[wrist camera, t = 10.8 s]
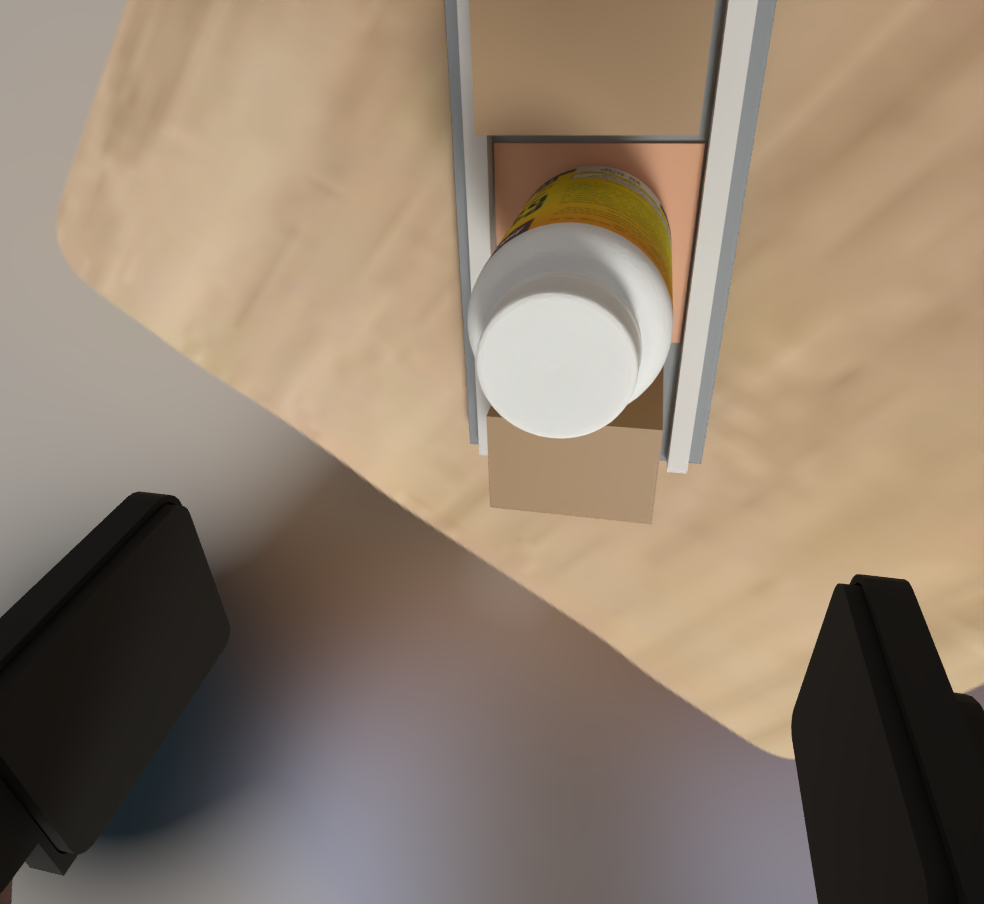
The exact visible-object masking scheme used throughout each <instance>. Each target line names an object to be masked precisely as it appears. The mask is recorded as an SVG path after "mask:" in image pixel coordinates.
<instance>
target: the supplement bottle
mask: <svg viewBox="0 0 984 904" xmlns="http://www.w3.org/2000/svg"><path fill="white" fill-rule="evenodd" d="M467 327H468V335H469V340H470V344H471V348H472V351H473V354H474V356H475V359H476V369H477V375H478V379H479V383H480V386H481V388H482V391H483V393H484V394H485V396H486V398H487V399H488V401H489V402H490V404H491V405H492V407H493V408H494V409H495V410H496V411H497V412H498V413H499V414H500V415H501V416H502V417H503V418H504V419H506V420H507V421H508V422H510V423H511V424H513V425H514V426H516V427H518V428H520V429H522V430H524V431H526V432H529V433H531V434H535V435H538V436H542V437H548V438H561V439H563V438H573V437H579V436H583V435H587V434H590V433H592V432H595V431H597V430H599V429H601V428H602V427H604V426H606V425H607V424H609V423H610V422H612V421H613V420H614V419H615V418H616V417H617V416H618V415H619V414H620V413H621V412H622V411H623V410H624V408H625V407H626V405H627V404H629V403H631V402H632V401H633V400H635V399H636V398H637V397H639V396H640V395H641V394H642V393H643V392H644V391H645V390H646V389H647V388H648V387H649V386H650V385H651V384H652V382H653V381H654V380H655V378H656V377H657V375H658V374H659V372H660V371H661V369H662V367H663V365H664V363H665V360H666V358H667V355H668V352H669V349H670V345H671V340H672V334H673V287H672V239H671V230H670V226H669V222H668V218H667V215H666V213H665V210H664V208H663V206H662V204H661V203H660V201H659V200H658V198H657V197H656V195H655V194H654V193H653V192H652V191H651V190H650V189H649V188H648V187H647V186H646V185H645V184H644V183H643V182H642V181H640V180H639V179H637V178H636V177H634V176H632V175H630V174H629V173H627V172H624V171H622V170H619V169H615V168H611V167H607V166H583V167H577V168H573V169H570V170H567V171H564V172H562V173H560V174H558V175H556V176H554V177H553V178H551V179H549V180H548V181H547V182H545V183H544V184H543V185H542V186H540V187H539V188H538V189H537V190H536V191H535V192H534V194H533V195H532V196H531V197H530V199H529V200H528V201H527V202H526V204H525V205H524V207H523V208H522V210H521V211H520V213H519V214H518V216H517V217H516V219H515V220H514V222H513V223H512V225H511V226H510V228H509V230H508V231H507V232H506V234H505V236H504V237H503V239H502V240H501V242H500V243H499V245H498V246H497V248H496V249H495V251H494V252H493V254H492V255H491V257H490V258H489V260H488V261H487V263H486V264H485V266H484V267H483V269H482V271H481V273H480V274H479V276H478V278H477V280H476V283H475V285H474V287H473V290H472V294H471V297H470V301H469V306H468V316H467Z"/></svg>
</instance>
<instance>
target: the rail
mask: <svg viewBox="0 0 984 904" xmlns="http://www.w3.org/2000/svg"><path fill="white" fill-rule="evenodd" d="M776 1H777V0H445V18H446V35H447V52H448V69H449V86H450V104H451V121H452V138H453V155H454V173H455V190H456V207H457V224H458V241H459V259H460V276H461V293H462V310H463V328H464V345H465V362H466V379H467V397H468V414H469V431H470V444H479V455H488V468H489V492H490V507H493V508H502V509H512V510H521V511H531V512H540V513H550V514H559V515H569V516H578V517H588V518H597V519H607V520H616V521H626V522H635V523H645V524H652V516H653V508H654V499H655V491H656V483H657V475H658V467H659V460H661V461H667V472H676V473H687V469H688V463H695V464H701V462H702V456H703V449H704V443H705V437H706V431H707V425H708V419H709V413H710V406H711V400H712V394H713V388H714V382H715V376H716V370H717V363H718V357H719V351H720V345H721V339H722V333H723V327H724V320H725V314H726V308H727V302H728V296H729V290H730V284H731V278H732V271H733V265H734V259H735V253H736V247H737V241H738V235H739V228H740V222H741V216H742V210H743V204H744V198H745V192H746V185H747V179H748V173H749V167H750V161H751V155H752V149H753V142H754V136H755V130H756V124H757V118H758V112H759V106H760V99H761V93H762V87H763V81H764V75H765V69H766V63H767V56H768V50H769V44H770V38H771V32H772V26H773V20H774V14H775V7H776ZM583 166H607V167H611V168H615V169H619V170H622V171H624V172H627V173H629V174H630V175H632V176H634V177H636V178H637V179H639V180H640V181H642V182H643V183H644V184H645V185H646V186H647V187H648V188H649V189H650V190H651V191H652V192H653V193H654V194H655V195H656V197H657V198H658V200H659V201H660V203H661V204H662V206H663V208H664V210H665V213H666V215H667V218H668V222H669V226H670V230H671V239H672V287H673V334H672V340H671V345H670V349H669V352H668V355H667V358H666V360H665V363H664V365H663V367H662V369H661V371H660V372H659V374H658V375H657V377H656V378H655V380H654V381H653V382H652V384H651V385H650V386H649V387H648V388H647V389H646V390H645V391H644V392H643V393H642V394H641V395H640V396H639V397H637V398H636V399H635V400H633V401H632V402H631V403H629V404H627V405H626V407H625V408H624V410H623V411H622V412H621V413H620V414H619V415H618V416H617V417H616V418H615V419H614V420H613V421H612V422H610V423H609V424H607V425H606V426H604V427H602V428H601V429H599V430H597V431H595V432H592V433H590V434H587V435H583V436H579V437H573V438H563V439H561V438H548V437H542V436H538V435H535V434H531V433H529V432H526V431H524V430H522V429H520V428H518V427H516V426H514V425H513V424H511V423H510V422H508V421H507V420H506V419H504V418H503V417H502V416H501V415H500V414H499V413H498V412H497V411H496V410H495V409H494V408H493V407H492V405H491V404H490V402H489V401H488V399H487V398H486V396H485V394H484V393H483V391H482V388H481V386H480V383H479V379H478V375H477V369H476V359H475V356H474V354H473V351H472V348H471V344H470V340H469V335H468V327H467V316H468V306H469V301H470V297H471V294H472V290H473V287H474V285H475V283H476V280H477V278H478V276H479V274H480V273H481V271H482V269H483V267H484V266H485V264H486V263H487V261H488V260H489V258H490V257H491V255H492V254H493V252H494V251H495V249H496V248H497V246H498V245H499V243H500V242H501V240H502V239H503V237H504V236H505V234H506V232H507V231H508V230H509V228H510V226H511V225H512V223H513V222H514V220H515V219H516V217H517V216H518V214H519V213H520V211H521V210H522V208H523V207H524V205H525V204H526V202H527V201H528V200H529V199H530V197H531V196H532V195H533V194H534V192H535V191H536V190H537V189H538V188H539V187H540V186H542V185H543V184H544V183H545V182H547V181H548V180H549V179H551V178H553V177H554V176H556V175H558V174H560V173H562V172H564V171H567V170H570V169H573V168H577V167H583Z"/></svg>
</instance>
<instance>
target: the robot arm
mask: <svg viewBox="0 0 984 904" xmlns="http://www.w3.org/2000/svg"><path fill="white" fill-rule="evenodd" d="M229 635H230V625H229V621H228V619H227V616H226V613H225V610H224V607H223V605H222V602H221V599H220V596H219V593H218V591H217V588H216V585H215V582H214V579H213V577H212V574H211V571H210V569H209V565H208V563H207V560H206V557H205V554H204V551H203V549H202V546H201V543H200V540H199V537H198V535H197V532H196V529H195V526H194V524H193V521H192V518H191V515H190V513H189V511H188V509H187V508H186V507H184V506H182V504H181V502H180V501H179V499H177V498H176V497H175V496H171V495H165V494H156V493H147V492H135V493H133V494H131V495H130V496H128V497H127V498H126V499H125V500H124V501H123V502H122V503H121V504H120V505H119V506H117V507H116V509H114V510H113V511H112V512H111V513H110V514H109V515H108V516H107V517H106V518H105V519H104V520H103V521H102V522H101V523H100V524H99V525H98V526H96V527H95V528H94V529H93V530H92V531H91V532H90V533H89V534H88V535H87V536H86V537H85V538H84V539H83V540H82V541H81V542H80V543H79V544H78V545H76V546H75V547H74V548H73V549H72V550H71V551H70V552H69V553H68V554H67V555H66V556H65V557H64V558H63V559H62V560H61V561H60V562H59V563H58V564H56V566H54V567H53V568H52V569H51V570H50V571H49V572H48V573H47V574H46V575H45V576H44V577H43V578H42V579H41V580H40V581H39V582H38V583H37V584H36V585H34V586H33V587H32V588H31V589H30V590H29V591H28V592H27V593H26V594H25V595H24V596H23V597H22V598H21V599H20V600H19V601H18V602H17V603H15V604H14V605H13V606H12V607H11V608H10V609H9V610H8V611H7V612H6V613H5V614H4V615H3V616H2V617H1V618H0V904H11V902H12V880H13V877H14V875H15V874H16V872H17V871H18V870H19V868H20V867H21V866H22V865H23V863H24V862H26V863H27V864H28V865H29V867H30V868H34V869H38V870H43V871H47V872H51V873H55V874H59V875H63V876H64V875H65V873H66V872H67V870H68V868H69V867H70V866H71V864H72V863H73V861H74V860H75V858H76V857H77V855H78V854H81V853H84V852H85V851H87V850H88V849H89V848H90V847H91V846H92V845H93V844H94V842H95V841H96V840H97V838H98V837H99V836H100V834H101V833H102V831H103V830H104V828H105V827H106V825H107V824H108V822H109V821H110V819H111V818H112V816H113V815H114V813H115V812H116V810H117V809H118V807H119V806H120V804H121V803H122V801H123V800H124V798H125V797H126V795H127V794H128V792H129V791H130V789H131V788H132V786H133V785H134V783H135V782H136V780H137V779H138V777H139V776H140V774H141V773H142V771H143V769H144V768H145V767H146V765H147V764H148V762H149V761H150V759H151V758H152V756H153V755H154V753H155V752H156V750H157V749H158V747H159V746H160V744H161V743H162V741H163V740H164V738H165V737H166V735H167V734H168V732H169V731H170V729H171V728H172V726H173V725H174V723H175V722H176V720H177V719H178V717H179V716H180V714H181V713H182V711H183V710H184V708H185V707H186V705H187V704H188V702H189V701H190V699H191V698H192V696H193V695H194V693H195V692H196V690H197V689H198V687H199V686H200V684H201V683H202V681H203V680H204V679H205V677H206V675H207V674H208V672H209V671H210V670H211V668H212V666H213V665H214V664H215V662H216V661H217V659H218V657H219V656H220V654H221V653H222V652H223V650H224V648H225V647H226V645H227V642H228V639H229ZM791 730H792V742H793V748H794V754H795V761H796V767H797V773H798V779H799V786H800V792H801V798H802V805H803V811H804V817H805V824H806V830H807V836H808V843H809V849H810V855H811V862H812V868H813V874H814V880H815V887H816V893H817V899H818V904H984V711H983V709H982V707H981V705H980V704H979V703H978V702H977V701H976V700H975V699H974V698H973V697H972V696H969V695H966V694H960V693H954V692H953V690H952V687H951V685H950V682H949V680H948V677H947V675H946V672H945V670H944V667H943V664H942V662H941V659H940V657H939V654H938V652H937V649H936V647H935V644H934V642H933V639H932V637H931V634H930V632H929V629H928V626H927V624H926V621H925V619H924V616H923V614H922V611H921V609H920V606H919V604H918V601H917V599H916V596H915V594H914V591H913V589H912V587H911V585H910V583H909V582H908V581H906V580H905V579H896V578H887V577H878V576H870V575H861V574H857V575H855V576H854V577H853V578H852V580H851V582H850V585H849V584H837V585H836V587H835V589H834V591H833V594H832V597H831V600H830V603H829V606H828V609H827V612H826V615H825V618H824V621H823V624H822V627H821V630H820V633H819V636H818V639H817V642H816V645H815V648H814V651H813V654H812V657H811V660H810V662H809V665H808V668H807V671H806V674H805V677H804V680H803V683H802V686H801V689H800V692H799V695H798V698H797V701H796V704H795V707H794V710H793V714H792V725H791Z"/></svg>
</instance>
